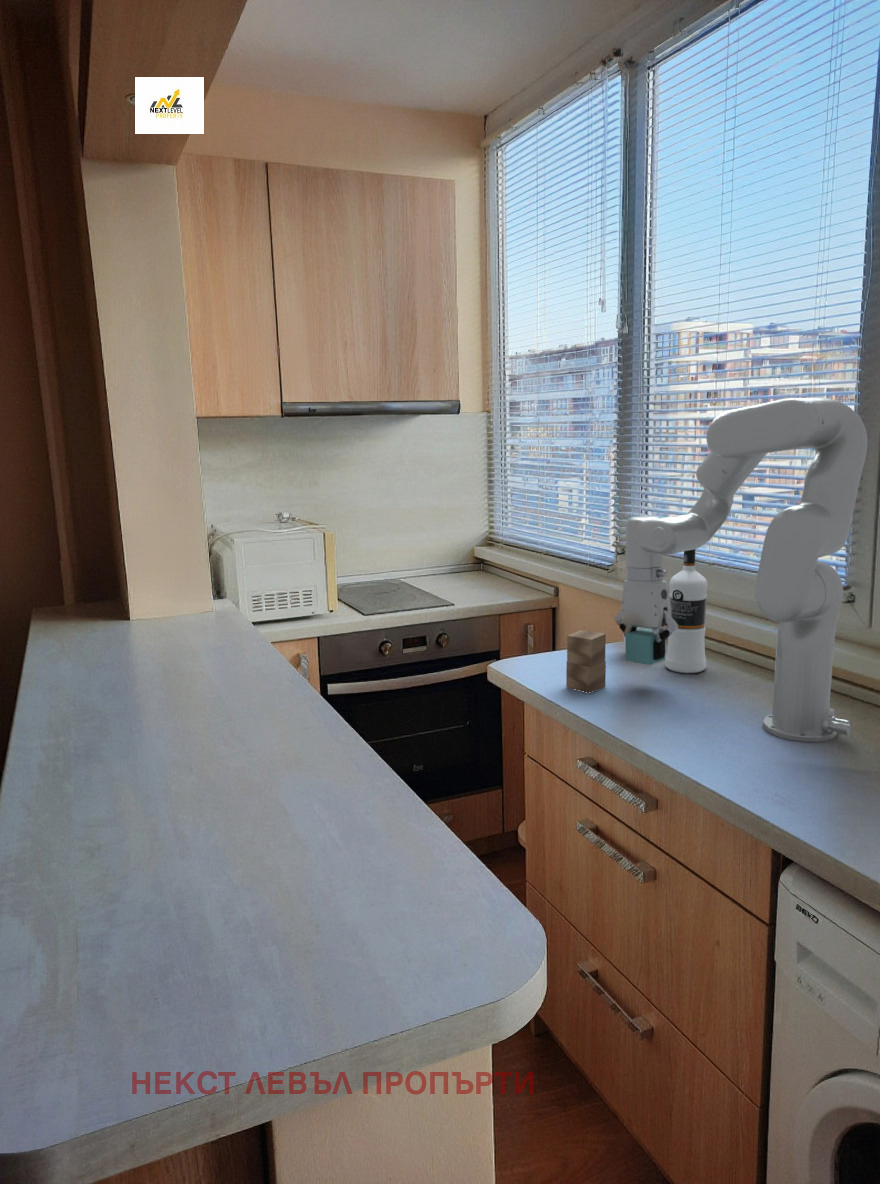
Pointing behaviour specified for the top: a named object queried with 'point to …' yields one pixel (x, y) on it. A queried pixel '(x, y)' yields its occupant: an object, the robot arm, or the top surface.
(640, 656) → the teal block
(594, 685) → the tower base
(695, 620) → the vodka
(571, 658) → the tower mid
